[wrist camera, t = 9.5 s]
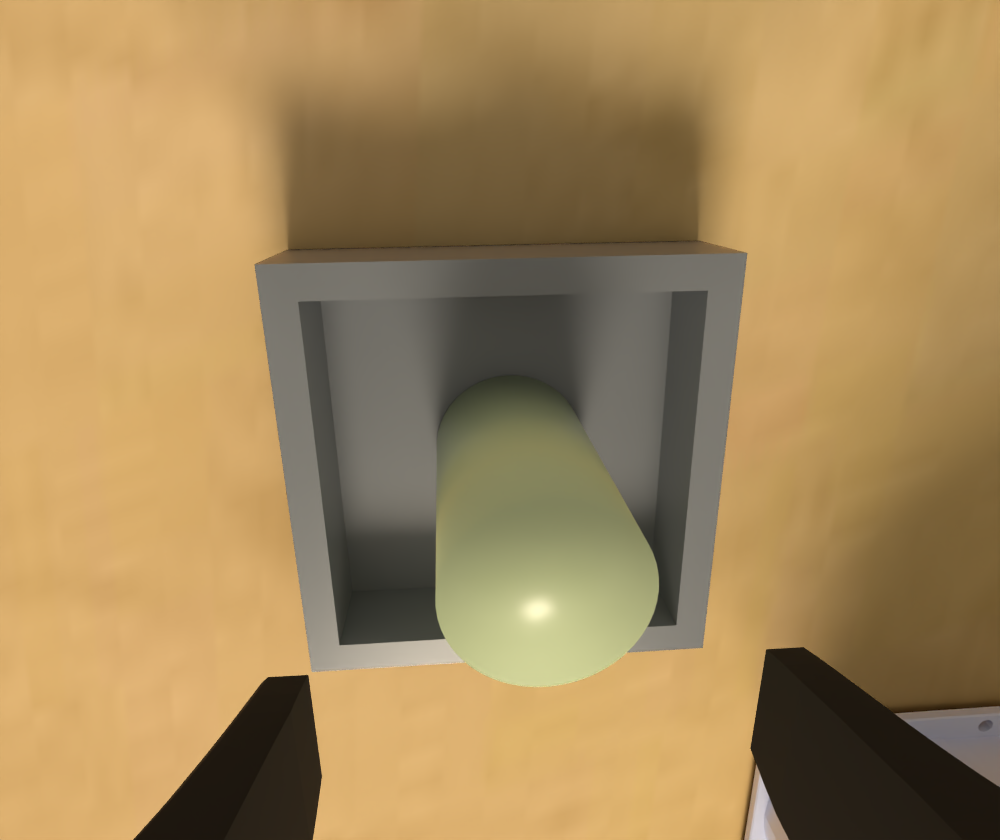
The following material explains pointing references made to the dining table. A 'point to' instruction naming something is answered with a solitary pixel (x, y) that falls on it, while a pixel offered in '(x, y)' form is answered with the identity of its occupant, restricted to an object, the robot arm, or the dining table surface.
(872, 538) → the dining table surface
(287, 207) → the dining table surface
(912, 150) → the dining table surface
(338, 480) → the tray
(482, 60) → the dining table surface
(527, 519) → the pale green cylinder
